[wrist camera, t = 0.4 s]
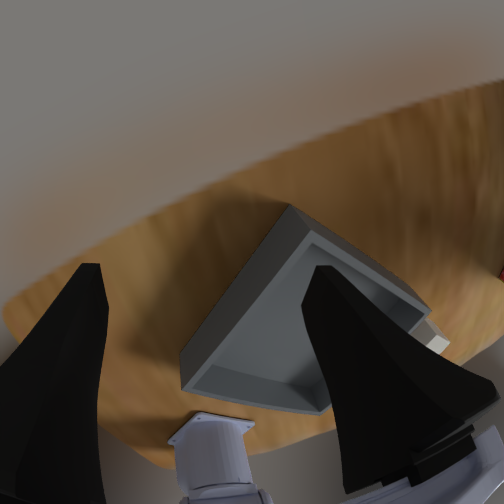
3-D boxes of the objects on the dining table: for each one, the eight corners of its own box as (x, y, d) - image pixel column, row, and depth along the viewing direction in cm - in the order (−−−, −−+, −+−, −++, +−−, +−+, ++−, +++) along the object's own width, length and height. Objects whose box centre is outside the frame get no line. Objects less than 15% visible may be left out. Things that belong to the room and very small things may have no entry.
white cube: (408, 347, 34) (423, 369, 30) (390, 339, 32) (407, 364, 28) (432, 321, 32) (450, 342, 29) (417, 311, 30) (436, 334, 27)
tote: (308, 387, 33) (319, 415, 29) (179, 354, 26) (181, 390, 22) (409, 285, 27) (431, 310, 24) (289, 203, 21) (310, 229, 17)
